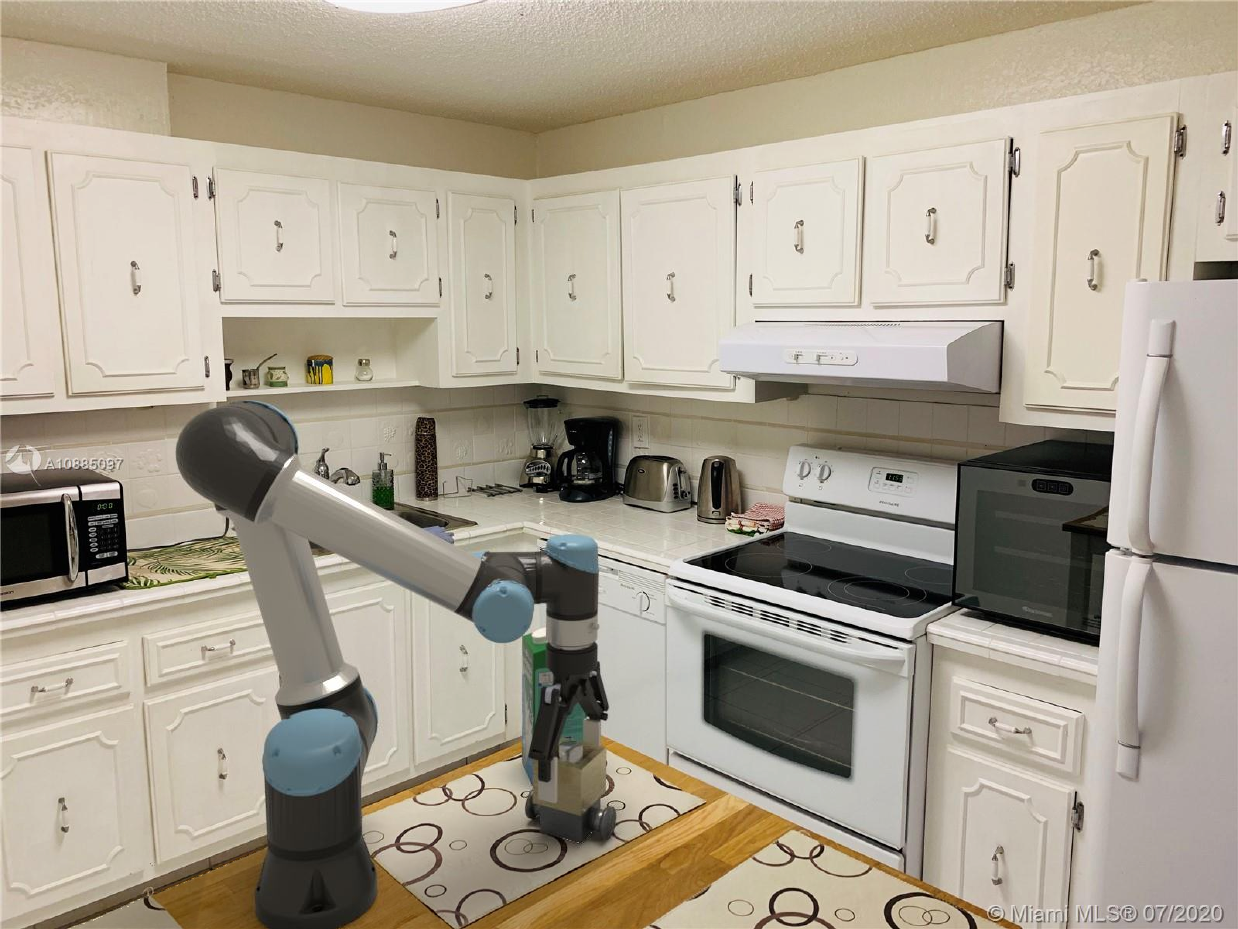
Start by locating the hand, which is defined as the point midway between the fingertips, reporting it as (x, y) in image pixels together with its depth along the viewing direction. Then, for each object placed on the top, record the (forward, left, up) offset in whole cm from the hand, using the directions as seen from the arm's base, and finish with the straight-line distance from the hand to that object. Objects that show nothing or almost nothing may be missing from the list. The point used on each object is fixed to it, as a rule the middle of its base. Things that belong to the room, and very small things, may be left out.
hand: (570, 779), depth 136 cm
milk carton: (-11, +15, -8) cm, 20 cm away
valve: (0, 0, -8) cm, 8 cm away
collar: (0, 0, -3) cm, 3 cm away
